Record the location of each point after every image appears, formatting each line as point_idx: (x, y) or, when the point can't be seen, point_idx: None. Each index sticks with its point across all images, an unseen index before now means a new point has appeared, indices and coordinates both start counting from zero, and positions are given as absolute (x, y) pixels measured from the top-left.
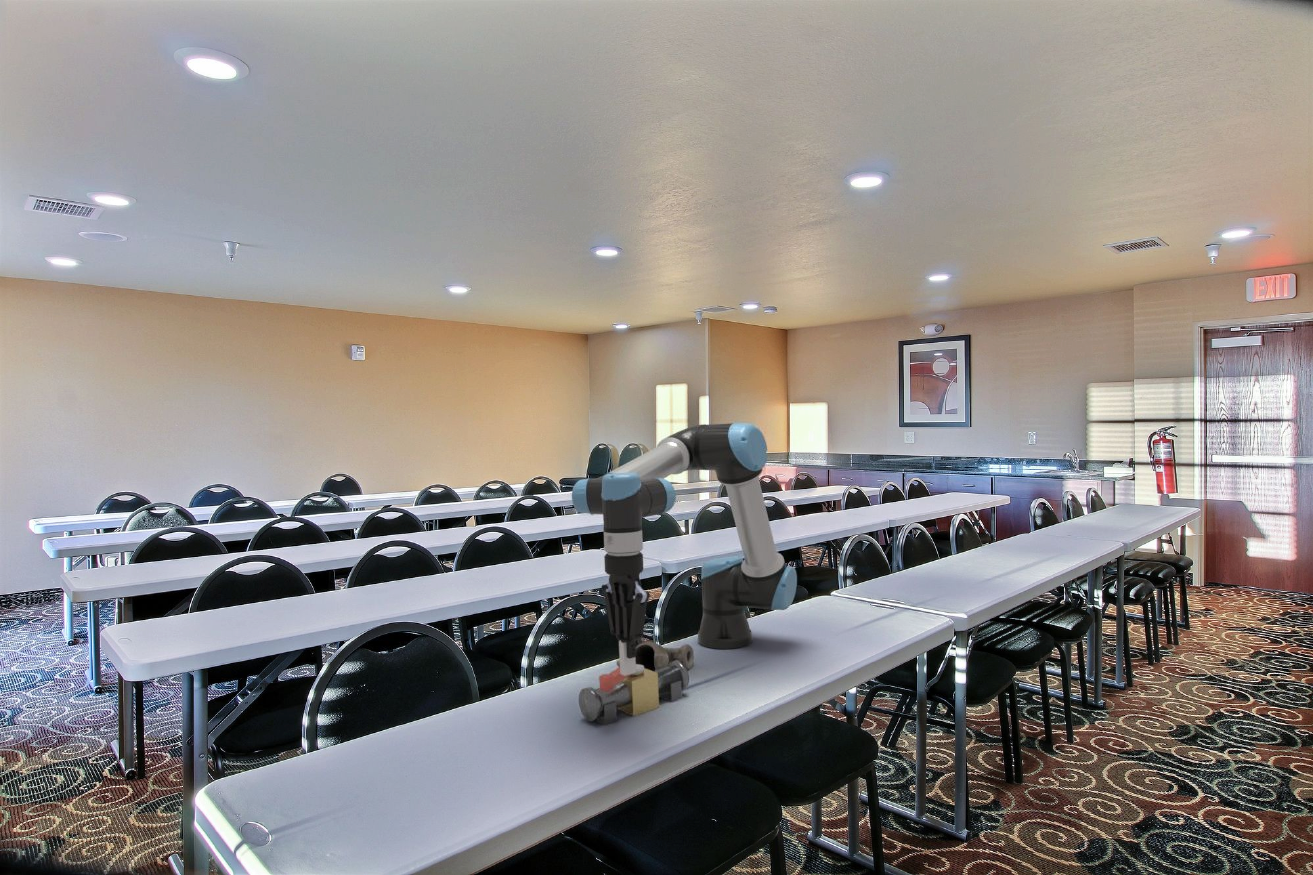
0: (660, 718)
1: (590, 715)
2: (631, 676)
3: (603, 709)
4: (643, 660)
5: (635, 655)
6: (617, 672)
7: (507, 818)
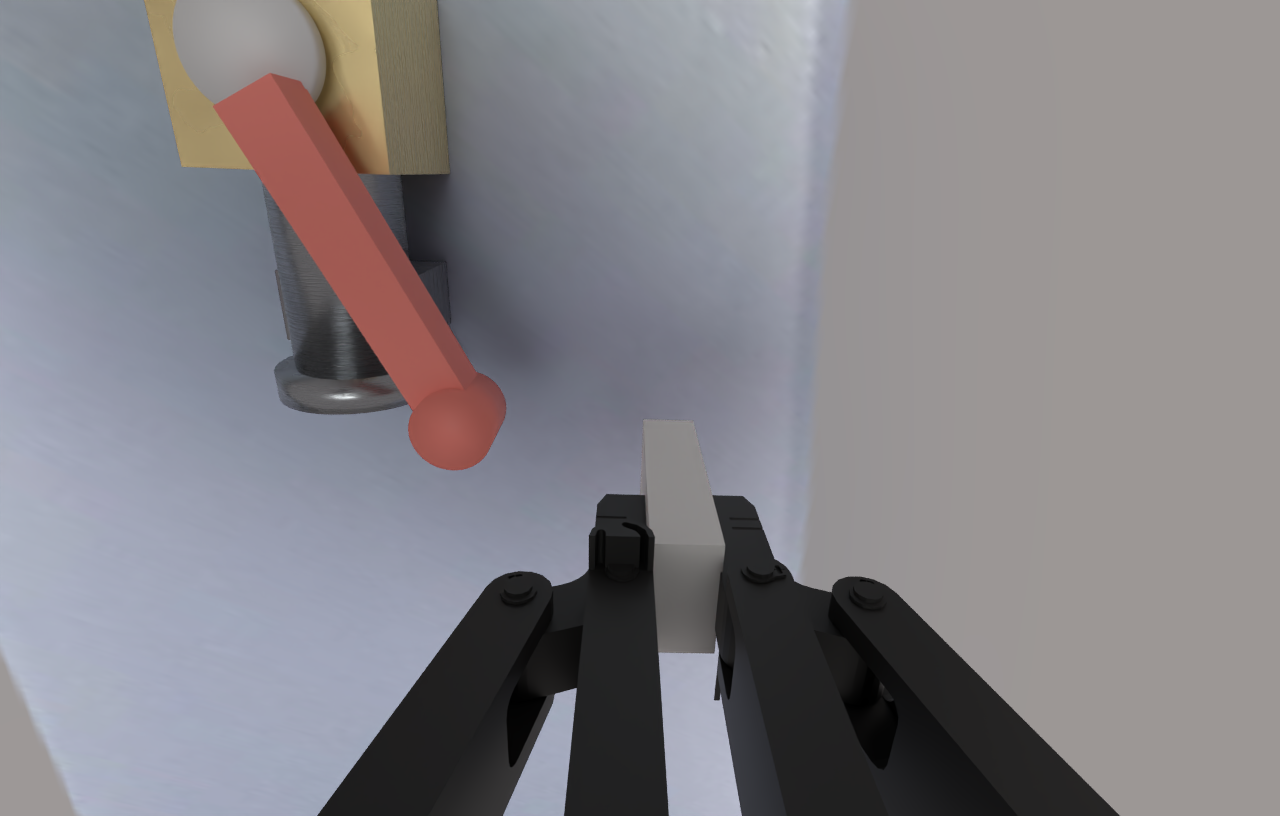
0: (555, 95)
1: None
2: None
3: None
4: None
5: (750, 507)
6: (389, 309)
7: None
